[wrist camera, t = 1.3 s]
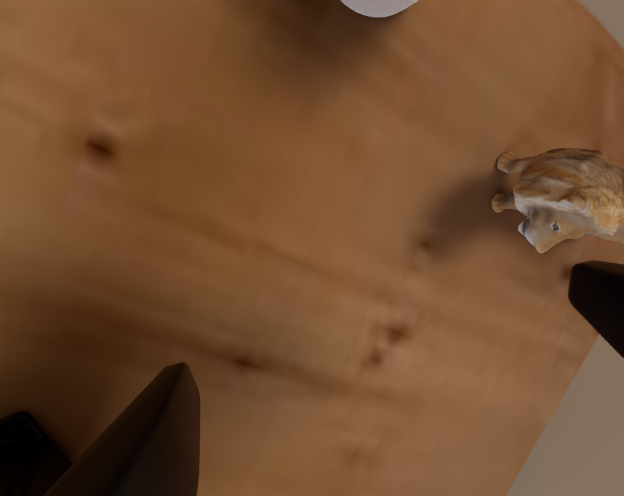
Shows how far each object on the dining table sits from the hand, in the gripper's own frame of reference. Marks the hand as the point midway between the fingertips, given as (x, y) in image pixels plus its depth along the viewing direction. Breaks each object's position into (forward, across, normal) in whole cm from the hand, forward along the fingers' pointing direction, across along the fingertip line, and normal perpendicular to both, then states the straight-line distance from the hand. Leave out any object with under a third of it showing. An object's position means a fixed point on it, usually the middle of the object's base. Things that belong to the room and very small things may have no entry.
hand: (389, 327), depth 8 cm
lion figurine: (+16, -16, +4) cm, 22 cm away
